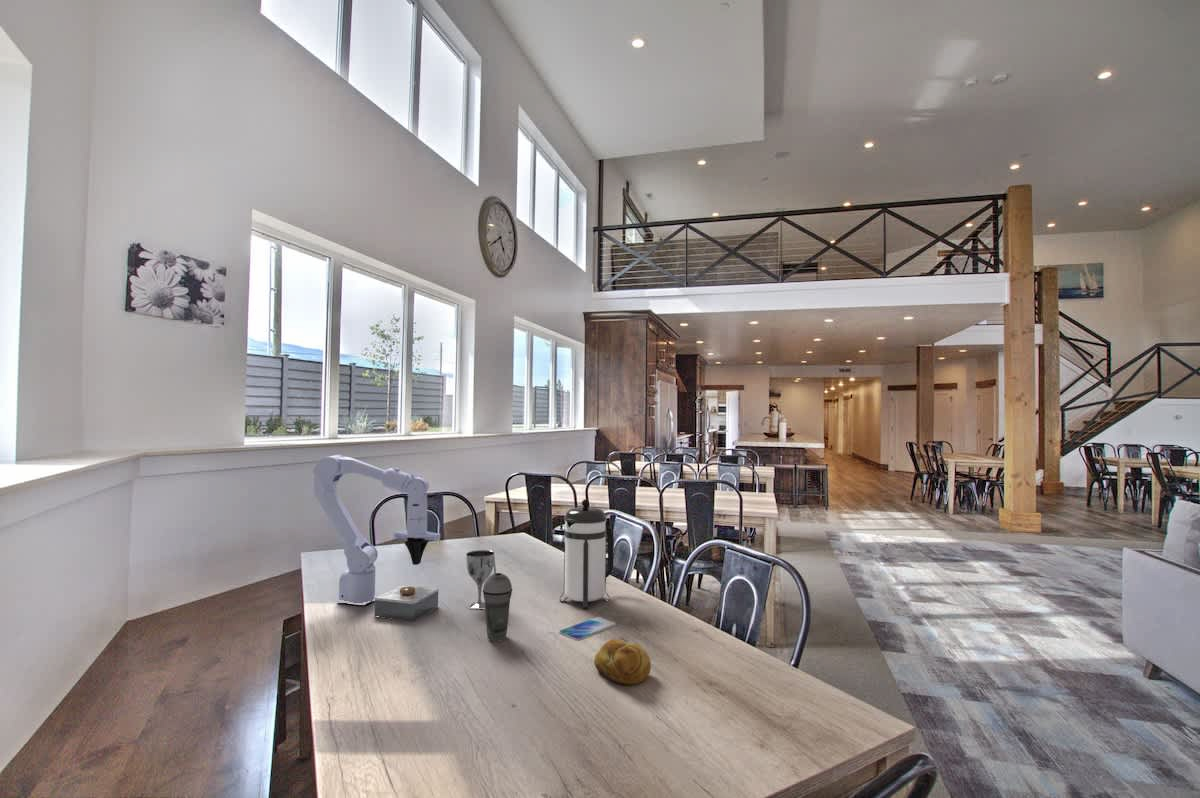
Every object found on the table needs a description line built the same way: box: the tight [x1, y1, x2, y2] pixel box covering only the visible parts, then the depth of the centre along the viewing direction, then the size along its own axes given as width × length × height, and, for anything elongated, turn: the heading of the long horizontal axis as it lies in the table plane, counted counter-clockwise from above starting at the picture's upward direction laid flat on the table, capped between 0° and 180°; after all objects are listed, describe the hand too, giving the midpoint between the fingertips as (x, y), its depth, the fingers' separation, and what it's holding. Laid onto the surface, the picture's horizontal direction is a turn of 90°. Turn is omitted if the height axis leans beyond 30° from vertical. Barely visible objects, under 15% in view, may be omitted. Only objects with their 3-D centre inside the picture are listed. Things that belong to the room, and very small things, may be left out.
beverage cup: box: [482, 554, 513, 642], centre depth 137 cm, size 7×7×20 cm
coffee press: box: [559, 498, 615, 610], centre depth 166 cm, size 17×16×30 cm
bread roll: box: [593, 638, 652, 686], centre depth 117 cm, size 13×10×8 cm
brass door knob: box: [400, 586, 416, 595], centre depth 154 cm, size 10×10×6 cm
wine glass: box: [465, 549, 495, 608], centre depth 160 cm, size 8×8×15 cm
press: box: [374, 584, 439, 622], centre depth 155 cm, size 12×14×5 cm
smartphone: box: [558, 616, 618, 641], centre depth 143 cm, size 7×1×15 cm
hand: (416, 563), depth 165 cm, fingers closed
